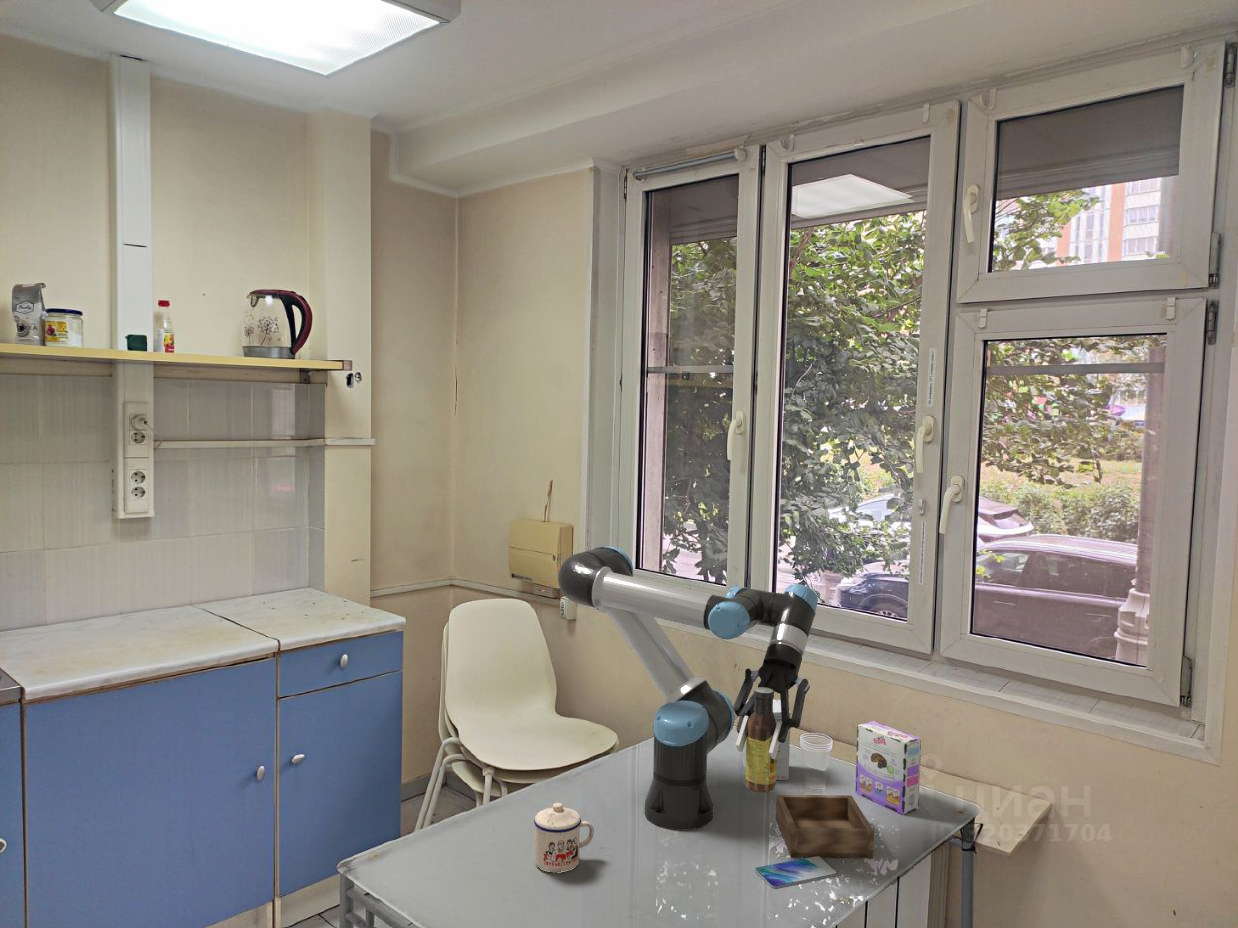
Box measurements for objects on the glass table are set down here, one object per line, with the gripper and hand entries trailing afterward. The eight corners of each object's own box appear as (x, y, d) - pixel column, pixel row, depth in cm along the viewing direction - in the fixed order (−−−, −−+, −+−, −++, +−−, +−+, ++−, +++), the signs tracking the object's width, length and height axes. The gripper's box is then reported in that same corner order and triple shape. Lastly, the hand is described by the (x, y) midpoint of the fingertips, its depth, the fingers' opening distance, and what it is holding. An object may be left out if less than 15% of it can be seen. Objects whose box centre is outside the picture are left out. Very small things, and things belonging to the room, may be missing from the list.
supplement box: (742, 765, 222) (744, 699, 221) (778, 764, 223) (780, 698, 222) (752, 781, 212) (754, 712, 211) (789, 780, 213) (791, 711, 212)
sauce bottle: (775, 795, 175) (779, 696, 174) (743, 792, 176) (747, 693, 175) (776, 781, 182) (780, 686, 180) (745, 778, 183) (749, 683, 181)
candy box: (919, 809, 199) (922, 737, 198) (902, 815, 196) (905, 742, 195) (870, 787, 210) (873, 719, 209) (853, 792, 207) (856, 723, 206)
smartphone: (840, 873, 170) (773, 887, 165) (840, 877, 170) (772, 891, 165) (819, 854, 177) (753, 867, 171) (819, 858, 177) (753, 871, 171)
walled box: (790, 857, 177) (791, 830, 176) (775, 819, 193) (776, 794, 193) (873, 858, 177) (874, 831, 176) (850, 819, 193) (851, 795, 193)
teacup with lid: (541, 878, 167) (542, 818, 166) (528, 855, 175) (528, 797, 174) (601, 867, 171) (602, 808, 170) (585, 845, 180) (586, 789, 179)
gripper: (833, 668, 186) (806, 771, 173) (746, 653, 196) (715, 750, 182) (826, 648, 181) (798, 753, 168) (738, 635, 191) (705, 733, 177)
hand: (755, 751), depth 175 cm, fingers closed on sauce bottle, 6 cm apart
